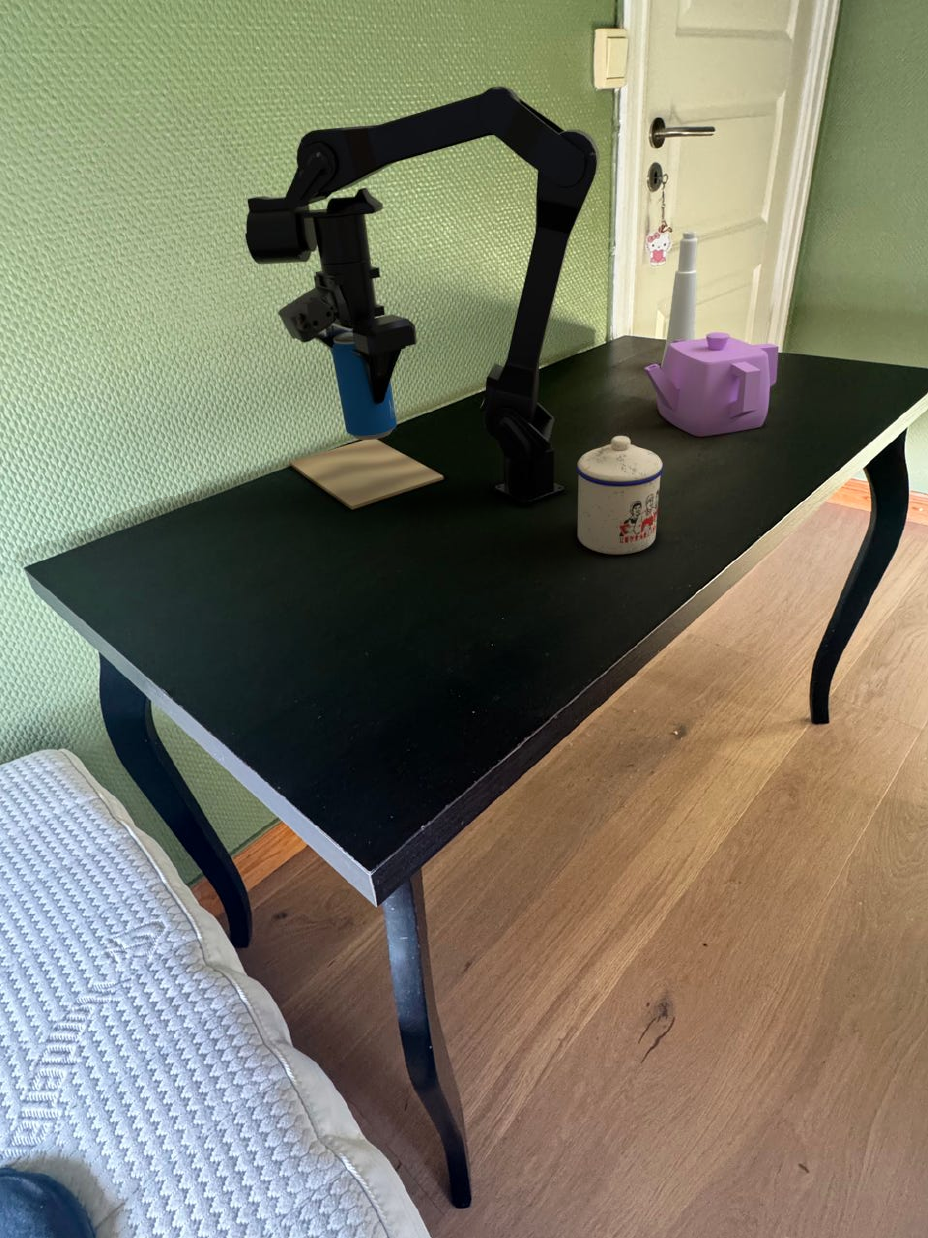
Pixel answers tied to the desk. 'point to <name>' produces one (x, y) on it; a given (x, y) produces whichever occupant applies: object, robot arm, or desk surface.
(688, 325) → the cosmetic bottle
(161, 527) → the desk surface
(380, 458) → the board
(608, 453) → the teacup with lid
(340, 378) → the beverage can
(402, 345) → the robot arm
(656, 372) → the teakettle
